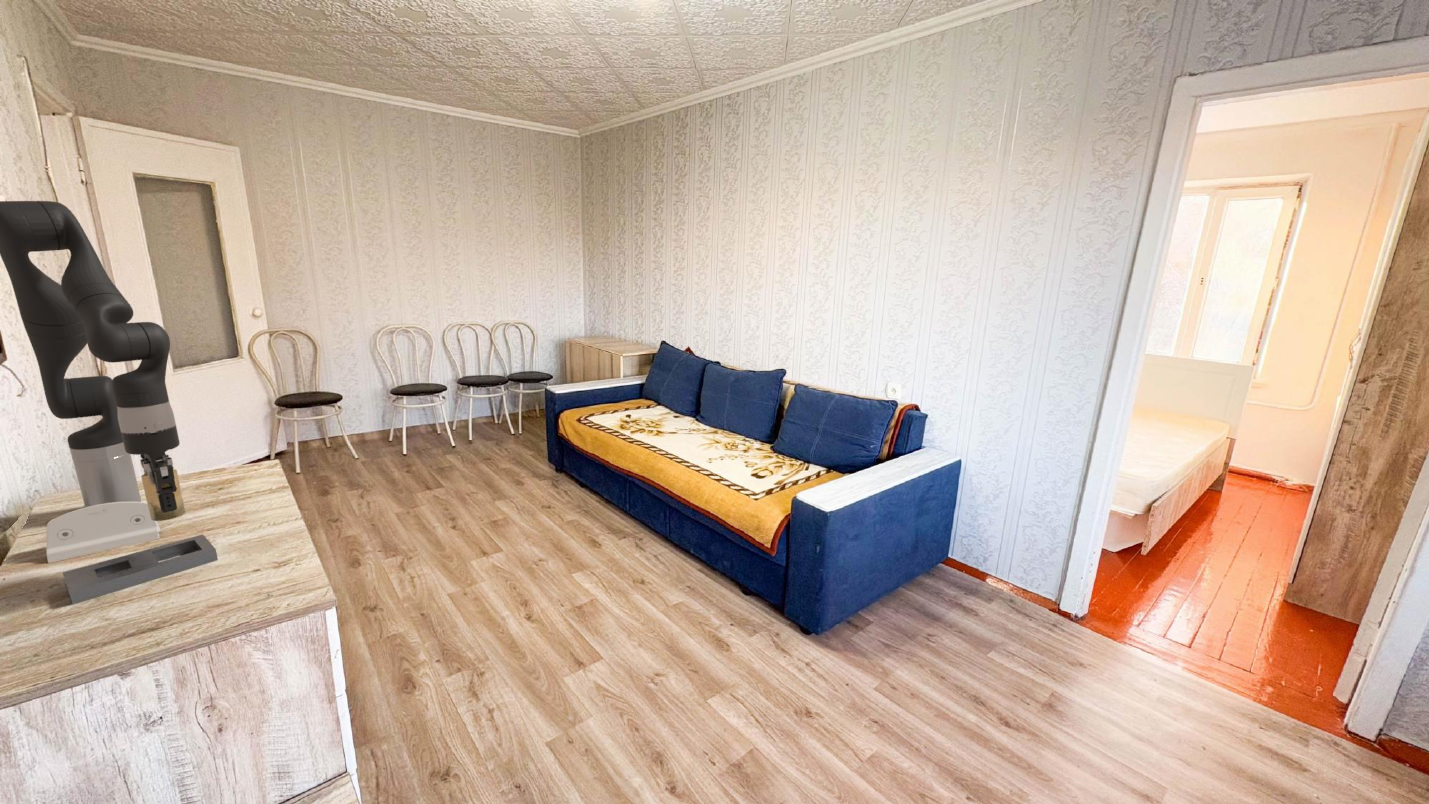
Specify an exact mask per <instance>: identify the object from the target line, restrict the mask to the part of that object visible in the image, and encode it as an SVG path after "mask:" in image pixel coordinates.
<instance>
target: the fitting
mask: <svg viewBox="0 0 1429 804" xmlns="http://www.w3.org/2000/svg"><path fill="white" fill-rule="evenodd" d="M173 472H174V476H175V485H176V487H177V490H176V492H174V495H175V500H176V504H177V509H176V510H174V511H170V512H166V513H164V512H162V511H161V508H160V503H159V499H158V495H157V494H156V489H155V485H153V484H150V481H149V477H148V474H144V473H143V474H142V475H141V476H140V477H141V478H140V479H141V482H142V486H143V490H144V495H145V499H146V502H147V504H148V509H149V513H150V517H151V520H153V521H158V522H160V521H161V522H163V521H168V520H173V519H176V518H179V517H182V516H183V515H185V514H186V507H185V504H184V503H185V502H184V499H183V495H182V489H181V484H180V479H179V475H178V470H177V469H175V468H174V469H173ZM153 478H154V479H155V477H153ZM161 487H162V488H165V487H169V483H166V484H162V485H161Z"/></svg>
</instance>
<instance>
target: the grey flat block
mask: <svg viewBox="0 0 1429 804" xmlns="http://www.w3.org/2000/svg"><path fill="white" fill-rule="evenodd" d="M217 554H218V552H217V549H216V547H215V546H214V545H213V544H212V543H211V542H210V541H209V539H207V537H206V536H205V535H204V534H199V535H195V536H193V537H189V538H184V539H181V540H177V541H174V542H169V543H165V544H162V545H158V546H155V547H152V548H148V549H144V550H140V551H137V552H133V553H129V554H126V555H121V556H119V557H115V558H111V559H107V560H103V561H100V562H96V563H93V564H88V565H85V566H82V567H77V568H73V569H71V570H67V571H63V572H62V576H63V579H64V583H65V586H66V589H67V593H68V595H69V598H70V601H71V603H72V605H75V604H79V603H81V602H85V601H88V600H91V599H94V598H98V597H101V596H105V595H108V594H111V593H114V592H117V591H121V590H124V589H128V588H130V587H134V586H136V585H137V586H138V585H139V584H144V583H147V582H150V581H153V580H156V579H161V578H164V577H167V576H170V575H174V574H176V573H180V572H183V571H187V570H190V569H194V568H196V567H199V566H203V565H206V564H209V563H212V562H216V561H218V560H219V558H218V555H217Z"/></svg>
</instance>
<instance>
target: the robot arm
mask: <svg viewBox="0 0 1429 804" xmlns="http://www.w3.org/2000/svg"><path fill="white" fill-rule="evenodd" d="M63 250H64V251H65V250H69V252H70V258H69V262H68V264H67V266H66V268H65V270H64V272H63V275H62V277H61V279H60V280H61V281H60V282H61V284H60V283H58V282H57V281H56V280H54V279H52V278H51V277H50V276H48V275H47V274H46V273H45V272H43V271H42V270H41V269H39V268H38V266H36V264H34V263H33V262H32V261H31V259H30V255H29V254H30V252H31V253H33V252H34V253H35V252H50V251H51V252H52V251H53V252H54V251H63ZM0 258H1V260H2V262H3V265H4V267H5V269H6V271H7V275H8V276H9V280H10V281H11V286H12V289H13V292H14V296H15V299H16V303H17V306H18V310H19V315H20V318H21V321H22V323H23V327H24V330H25V332H26V334H27V336H28V339H29V342H30V345H31V347H32V350H33V352H34V355H35V358H36V361H37V364H38V367H39V373H40V377H41V381H42V386H43V387H42V388H43V391H44V395H45V399H46V403H47V406H48V408H49V410H50V412H51V413H52V415H53V416H54V417H56V418H58V419H63V420H66V419H67V420H69V419H70V420H72V419H79V418H89V417H96V416H97V417H98V416H101V417H102V418H100V420H98V421H97V422H95V423H94V424H92V425H89V426H87V427H85V428H83V429H79V430H77V431H75V432H72V433H70V435H68V436H67V444H68V447H69V450H70V451H69V452H70V455H71V459H72V462H73V467H74V471H75V474H76V477H77V482H78V485H79V489H80V493H81V497H82V501H83V504H84V508H85V507H89V506H94V505H98V504H105V503H113V502H143V501H142V498H141V497H142V496H141V493H140V489H139V485H138V481H137V477H136V475H137V474H136V472H135V471H136V470H135V466H134V463H133V459H132V455H134V456H135V455H136V456H137V455H138V456H139V455H140V460H139V461H140V465H141V467H142V468H143V475H144V474H148V477H149V481H150V484H153V485H155V489H156V494H157V495H158V499H159V503H160V508H161V511H162V512H164V513H166V512H170V511H174V510H176V509H177V504H176V500H175V495H174V492H176V490H177V487H176V485H175V476H174V472H173V469H175V468H174V466H173V465H174V462H173V460H172V459H173V458H172V457H170V456H169V454H166V452H168V451H169V450H173V449H176V448H178V447H179V446H180V439H179V433H178V428H177V423H176V418H175V414H174V411H173V408H172V405H171V403H170V399H169V394H168V389H167V383H166V374H167V364H168V359H169V355H170V350H171V340H170V336H169V334H168V332H167V331H166V329H164V327H162V326H161V325H160V324H158V323H156V322H152V321H151V322H150V321H140V322H130V321H131V320H132V319H133V317H134V310H133V307H132V306H131V304H130V303H129V301H128V300H127V299H126V298H125V296H124V295H123V293H121V291H120V290H119V288H118V287H117V286H116V285H115V284H114V282H113V281H112V279H111V278H110V277H109V275H108V273H107V272H106V270H105V268H104V266H103V264H102V263H101V260H100V258H99V256H98V254H97V252H96V250H95V248H94V246H93V245H92V243H91V241H90V239H89V238H88V236H87V234H86V232H85V230H84V229H83V227H82V225H81V223H80V221H79V220H78V218H77V217H76V216H75V214H74V213H73V212H72V210H71V209H69V208H68V207H67V206H66V205H64V204H63V203H61V202H58V201H50V200H3V201H2V200H0ZM86 345H87V348H88V350H89V352H90V353H91V354H92V356H93V357H96V358H97V359H99V360H101V361H103V362H107V363H123V362H132V361H133V362H134V361H140V363H139V365H138V367H137V368H136V369H134V370H131V371H128V372H124V373H122V374H119V375H115V377H113V378H112V377H110V376H108V375H107V376H106V375H95V376H93V375H92V376H81V377H70V378H65V375H66V373H67V370H68V369H69V366H70V365H71V363H72V362H73V361H74V360H75V358H76V357H77V356H78V355H79V354H80V353H81V352H82V351H83V350H84V348H85V347H86ZM153 477H155V479H154V478H153ZM166 483H169V487H165V488H162V487H161V485H162V484H166Z"/></svg>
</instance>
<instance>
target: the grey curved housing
mask: <svg viewBox="0 0 1429 804" xmlns="http://www.w3.org/2000/svg"><path fill="white" fill-rule="evenodd" d="M160 532H162V529H161V527H160V524H159V521H153V520H151V517H150V513H149V509H148V504H147V501H146V502H145V501H142V502H113V503H105V504H98V505H94V506H89V507H85V506H84V507H83V508H77V509H75V510H73V511H70V512H66V513H64V514H62V515H59V516H57V517H55V518H52V519H51V520H49V521H48V522H47V524H46V547H45V548H46V549H45V551H46V555H45V556H46V559H47V563H48V564H49V563H55V562H59V561H64V560H67V559H73V558H78V557H81V556H86V555H90V554H97V553H101V552H105V551H109V550H113V549H117V548H122V547H123V548H124V547H127V546H131V545H132V546H133V545H136V544H141V543H146V542H151V541H154V540H159V539H160V534H159V533H160Z"/></svg>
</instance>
